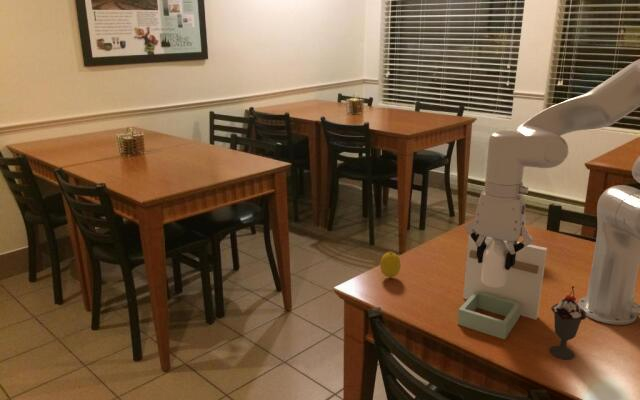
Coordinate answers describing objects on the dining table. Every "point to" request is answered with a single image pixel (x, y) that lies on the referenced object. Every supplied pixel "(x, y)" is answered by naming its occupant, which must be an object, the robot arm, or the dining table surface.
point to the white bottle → (494, 263)
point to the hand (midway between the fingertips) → (494, 263)
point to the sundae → (566, 325)
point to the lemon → (390, 264)
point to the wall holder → (502, 291)
